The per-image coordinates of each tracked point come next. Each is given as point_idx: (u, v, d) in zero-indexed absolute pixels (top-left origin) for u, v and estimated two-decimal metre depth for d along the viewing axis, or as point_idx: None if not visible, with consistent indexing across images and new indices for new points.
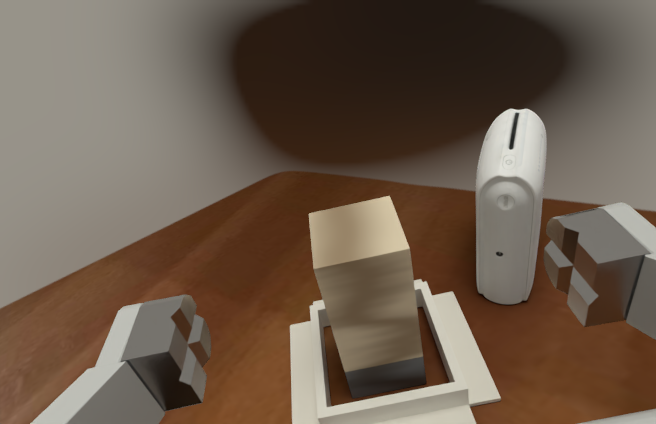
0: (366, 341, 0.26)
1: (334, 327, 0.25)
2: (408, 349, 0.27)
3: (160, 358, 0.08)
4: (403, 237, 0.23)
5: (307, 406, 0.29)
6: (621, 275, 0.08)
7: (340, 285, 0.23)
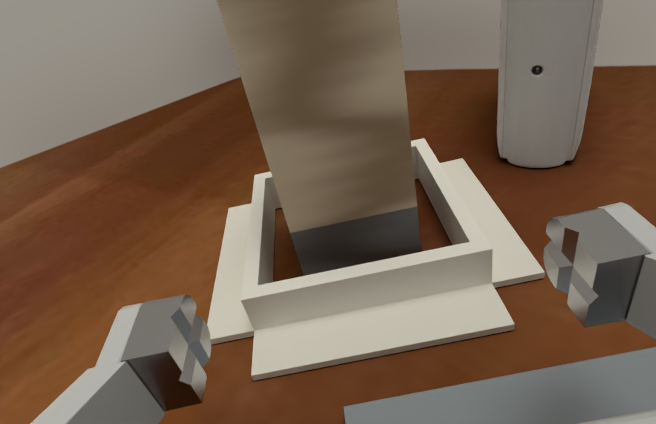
0: (322, 169, 0.16)
1: (263, 131, 0.15)
2: (393, 189, 0.16)
3: (159, 357, 0.08)
4: None
5: (235, 298, 0.19)
6: (621, 275, 0.08)
7: (263, 25, 0.13)
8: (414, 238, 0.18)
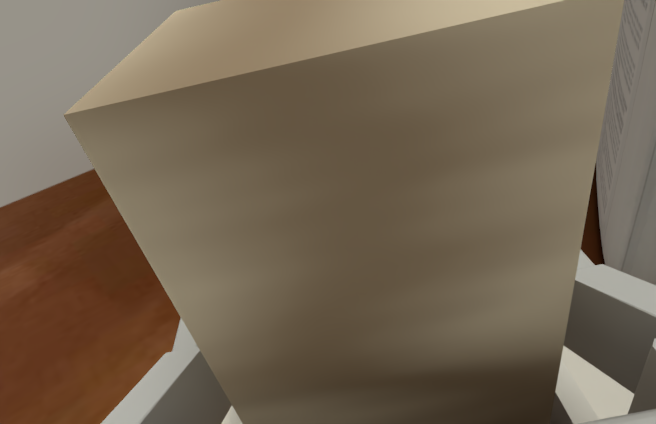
0: None
1: (243, 401, 0.07)
2: None
3: None
4: None
5: None
6: None
7: (236, 222, 0.05)
8: None
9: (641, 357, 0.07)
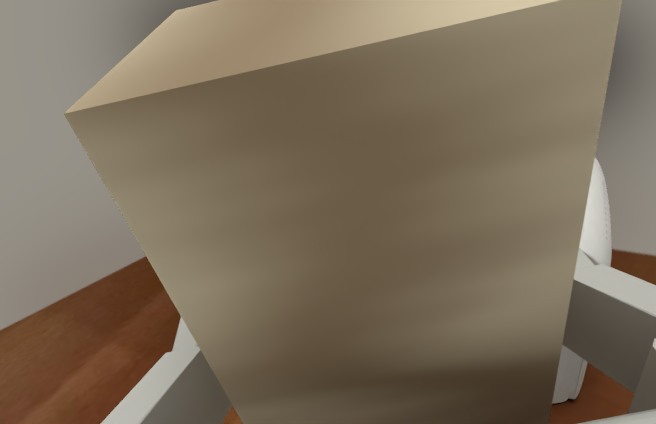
0: None
1: (242, 400, 0.07)
2: None
3: None
4: None
5: None
6: None
7: (235, 220, 0.05)
8: None
9: (641, 357, 0.07)
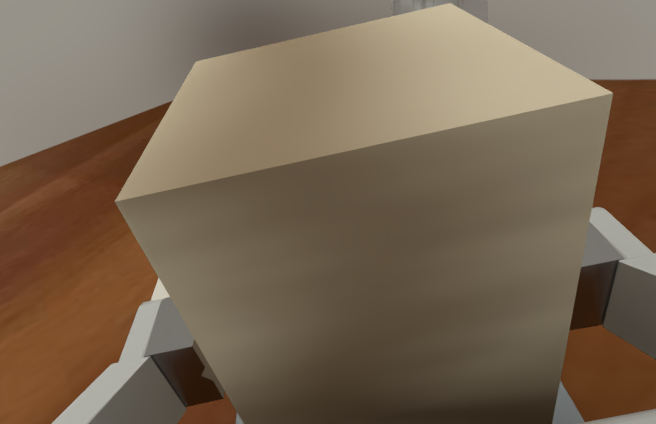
0: None
1: None
2: None
3: (183, 353, 0.08)
4: (553, 66, 0.05)
5: None
6: (596, 280, 0.08)
7: (262, 284, 0.05)
8: None
9: None
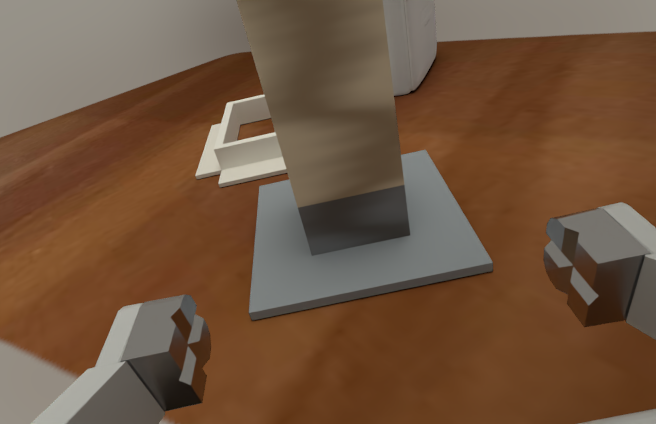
0: (324, 152, 0.19)
1: (276, 121, 0.18)
2: (383, 170, 0.19)
3: (159, 358, 0.08)
4: None
5: (212, 160, 0.34)
6: (621, 275, 0.08)
7: (278, 35, 0.16)
8: (402, 212, 0.21)
9: None
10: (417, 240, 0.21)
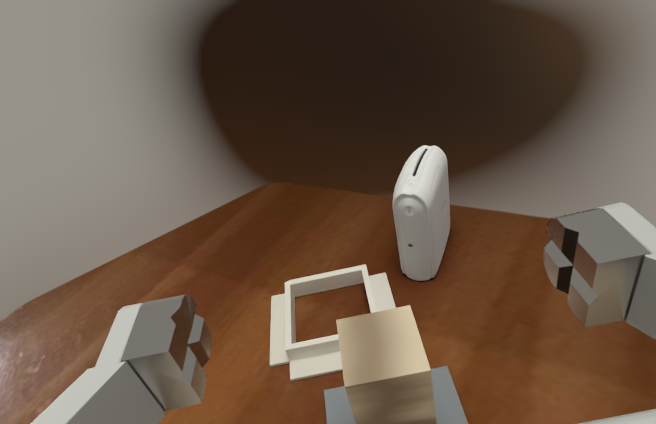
0: None
1: None
2: None
3: (160, 357, 0.08)
4: (424, 356, 0.26)
5: (280, 346, 0.44)
6: (621, 275, 0.08)
7: (367, 397, 0.26)
8: None
9: None
10: None
